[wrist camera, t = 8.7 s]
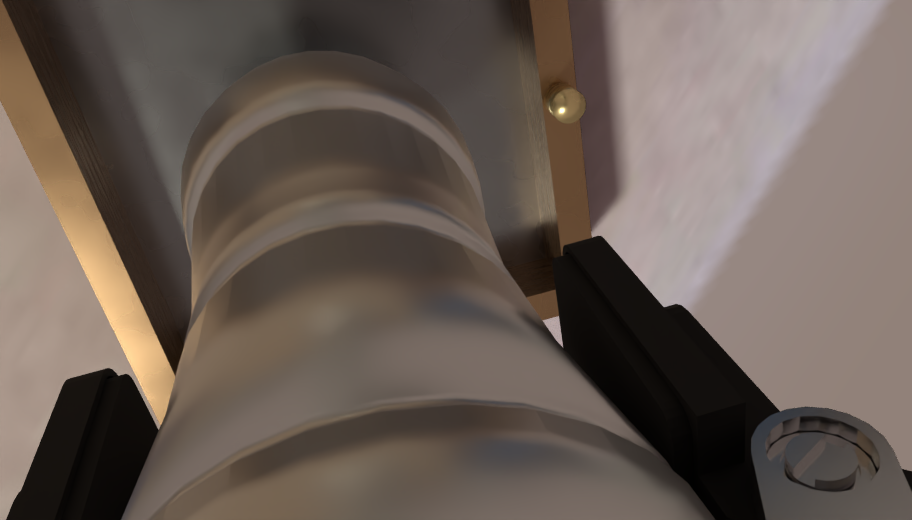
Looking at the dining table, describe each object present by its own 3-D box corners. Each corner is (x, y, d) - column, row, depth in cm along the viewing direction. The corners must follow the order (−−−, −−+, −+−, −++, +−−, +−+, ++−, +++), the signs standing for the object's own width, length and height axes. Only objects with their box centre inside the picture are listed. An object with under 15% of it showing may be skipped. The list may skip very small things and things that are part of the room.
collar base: (-34, -79, 19) (-100, -66, 15) (511, -191, 20) (558, -202, 17) (172, 368, 25) (157, 443, 22) (567, 261, 27) (607, 317, 24)
